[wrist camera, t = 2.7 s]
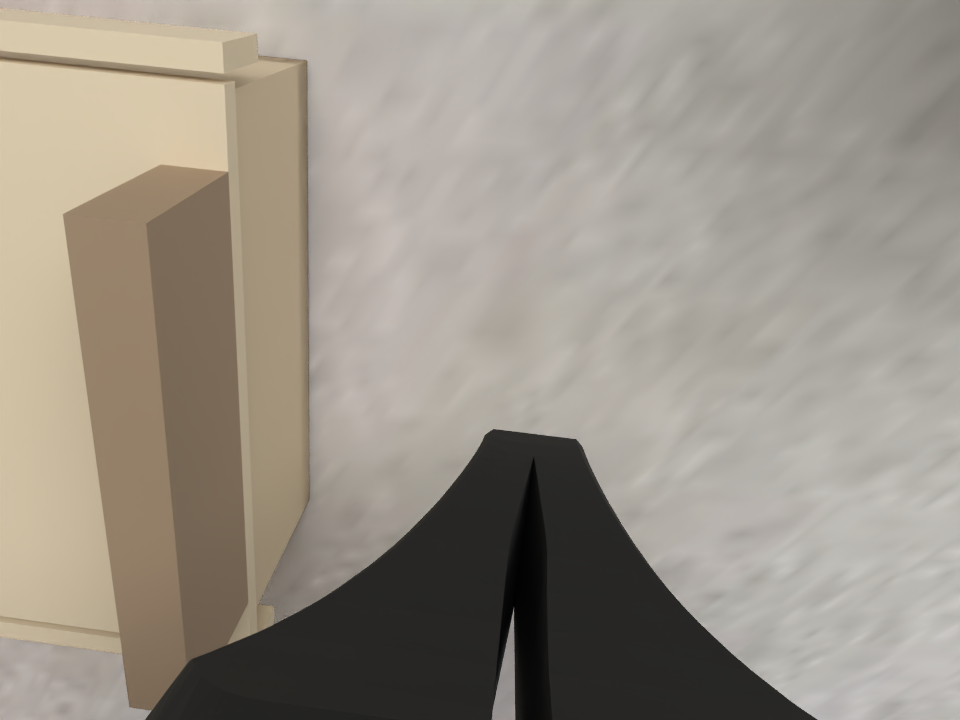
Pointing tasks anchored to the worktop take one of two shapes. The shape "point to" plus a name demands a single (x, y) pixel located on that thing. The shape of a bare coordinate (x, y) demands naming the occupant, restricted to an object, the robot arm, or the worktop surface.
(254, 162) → the mailer box
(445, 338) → the worktop surface
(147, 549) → the lid
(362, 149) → the worktop surface
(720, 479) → the worktop surface
